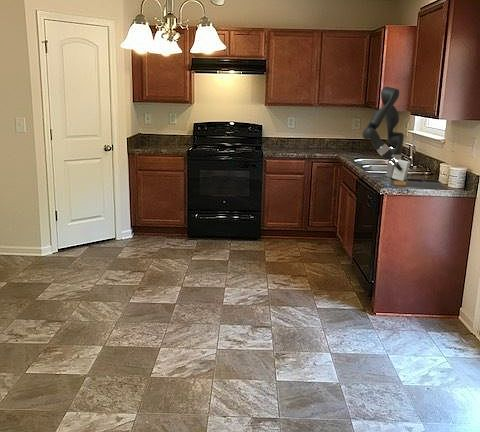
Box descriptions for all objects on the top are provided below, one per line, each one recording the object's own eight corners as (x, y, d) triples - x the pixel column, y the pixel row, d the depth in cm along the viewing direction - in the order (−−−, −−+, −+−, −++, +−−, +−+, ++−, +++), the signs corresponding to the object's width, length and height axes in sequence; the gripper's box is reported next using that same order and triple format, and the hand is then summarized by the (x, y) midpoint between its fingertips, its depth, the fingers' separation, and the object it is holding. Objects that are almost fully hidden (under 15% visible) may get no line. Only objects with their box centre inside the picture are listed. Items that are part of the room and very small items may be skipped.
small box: (405, 180, 355) (410, 161, 351) (402, 181, 350) (407, 162, 346) (394, 177, 359) (399, 159, 355) (391, 178, 354) (396, 159, 350)
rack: (388, 183, 362) (388, 177, 361) (437, 185, 358) (437, 179, 357) (390, 186, 350) (391, 180, 349) (441, 188, 346) (442, 183, 345)
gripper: (390, 148, 344) (406, 167, 345) (387, 146, 357) (402, 164, 359) (381, 156, 345) (397, 174, 347) (378, 153, 359) (393, 171, 361)
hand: (399, 169), depth 353 cm, fingers closed on small box, 8 cm apart
